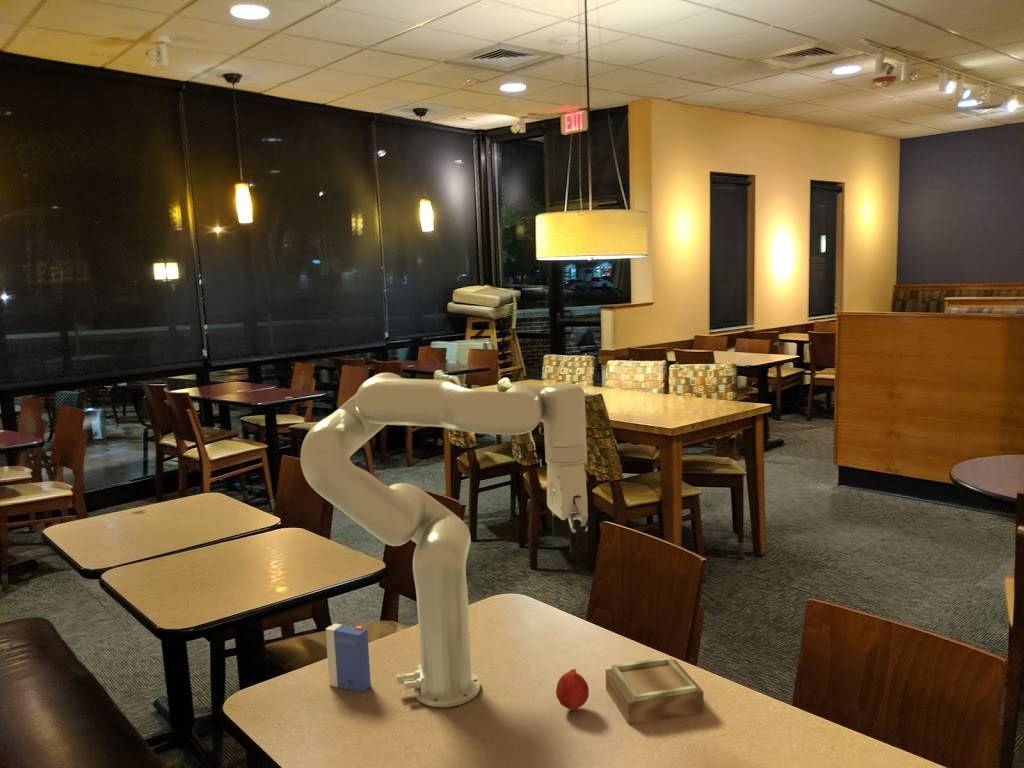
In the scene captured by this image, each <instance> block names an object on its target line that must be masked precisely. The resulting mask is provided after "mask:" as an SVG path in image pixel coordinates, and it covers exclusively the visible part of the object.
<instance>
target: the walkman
mask: <svg viewBox="0 0 1024 768" xmlns="http://www.w3.org/2000/svg"><path fill="white" fill-rule="evenodd" d="M368 634H369V633H368V629H367V628H364V627H363V626H359V625H357V626H352V625H348V624H347V625H346V624H340V623H333V624H332V625H329V626H328V627H326V628H325V636H326V639H325V640H326V656H327V657H326V658H327V669H328V683H329V686H330V685H331V686H330V687H335V688H340V689H345V690H350V691H355V692H359V693H364V692H366V690H368V688H370V687H371V686H372V683H371V669H370V666H371V665H370V652H369V635H368Z"/></svg>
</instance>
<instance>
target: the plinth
mask: <svg viewBox="0 0 1024 768" xmlns="http://www.w3.org/2000/svg"><path fill="white" fill-rule="evenodd" d="M605 690H606V692H607V694H608V695H609V697H610V698H611V700H612V701H613V703H614V704H615V706H616V707H617V709H618V710H619V712H620V713H621V715H622V716H623V718H624V720H625V721H626V722H627V724H628V725H629V726H630V725H636V724H641V723H648V722H653V721H654V722H655V721H659V720H666V719H672V718H678V717H683V716H689V715H696V714H697V715H698V714H702V713H703V714H704V690H703V689H702V688H701V687H700V685H698V684H697V683H696V681H695V680H694V679H693V678H692V677H691V676H690V674H689V672H687V671H686V669H684V667H683V666H682V665H681V664H680V663H679V662H678V661H677V660H676V659H672V657H670V656H667V657H660V658H659V657H658V658H652V659H646V660H640V661H639V660H638V661H634V662H633V661H632V662H626V663H625V662H624V663H618V664H612V665H611V668H609V669H605Z"/></svg>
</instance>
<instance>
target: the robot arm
mask: <svg viewBox="0 0 1024 768" xmlns="http://www.w3.org/2000/svg"><path fill="white" fill-rule="evenodd" d="M585 396H586V395H585V390H584V389H583V387H581V385H578V384H575V383H559V384H552V385H540V384H530V383H519V384H514V385H512V386H510V387H509V388H508V389H507V390H506V391H491V390H490V391H489V390H488V391H487V390H476V389H471V388H466V387H463V386H460V385H458V384H456V383H454V382H452V381H450V380H445V379H431V378H430V379H426V378H423V379H422V378H404V377H403V378H402V377H401V376H400V375H398V374H396V373H393V372H380V373H378V374H375V375H373V376H372V377H370V378H368V379H367V380H365V381H364V382H362V384H361V385H360V386H359V387H358V389H357V392H356V393H354V395H352V396H351V397H350V398H349V399H348V400H346V402H344V403H343V404H342V405H341V406H340V407H339V408H337V409H336V410H335V411H334V412H333V413H331V414H329V415H328V416H326V417H324V418H323V419H321V420H320V421H318V422H317V423H316V424H314V425H313V426H311V428H310V429H309V430H308V432H307V433H306V435H305V437H304V439H303V441H302V445H301V448H300V468H301V471H302V473H303V476H304V478H305V480H306V482H307V483H308V485H309V486H310V487H311V488H312V489H313V491H315V492H316V493H317V494H318V495H320V496H321V498H324V499H325V500H326V501H327V502H329V503H330V504H331V505H333V506H334V507H336V508H337V509H339V510H340V511H341V512H343V514H345V516H348V517H349V518H350V519H351V520H352V521H354V522H355V523H357V524H358V525H359V526H360V527H362V528H363V529H364V530H366V531H367V532H368V533H370V534H371V535H373V536H374V537H375V538H377V540H378V541H380V542H382V543H383V544H385V545H388V546H392V547H399V546H402V545H404V544H406V543H408V542H409V541H410V540H411V541H412V542H414V543H415V544H416V546H415V548H414V552H413V557H412V573H413V580H414V585H415V586H414V587H415V594H416V608H417V609H416V611H417V618H418V619H417V620H418V623H417V624H418V639H419V641H418V642H419V657H420V661H419V662H420V663H418V664H417V669H416V670H415V669H414V670H413V671H412V672H408V673H397V674H396V685H397V686H402V685H403V686H404V687H403V688H404V690H411V689H413V695H414V697H415V698H416V700H417V701H418V702H420V703H422V704H423V705H425V706H429V707H434V708H451V707H456V706H461V705H464V704H466V703H468V702H470V701H471V700H473V699H475V698H476V697H477V695H478V694H479V693H480V690H481V681H480V678H479V677H478V676H477V675H476V674H475V673H473V672H472V658H471V657H472V656H471V655H472V654H471V637H470V631H471V630H470V615H469V613H470V612H469V596H468V594H469V593H468V585H467V573H466V572H467V571H466V568H467V558H468V554H469V550H470V546H471V541H472V540H471V533H470V530H469V528H468V526H467V524H466V523H465V522H464V521H463V520H462V519H461V517H460V516H458V515H456V514H455V513H454V512H453V511H452V510H450V509H449V508H447V507H446V506H445V505H443V504H442V503H441V502H439V501H438V500H437V499H435V498H434V497H433V496H431V495H430V494H428V493H427V492H426V491H425V490H423V489H421V488H420V487H418V486H416V485H414V484H410V483H408V482H407V483H406V482H397V483H393V484H391V485H390V486H388V485H386V484H385V483H383V482H382V481H381V480H379V479H377V477H376V476H374V475H373V474H371V473H370V472H368V471H367V470H365V469H363V468H360V467H359V466H356V465H355V464H354V463H353V462H352V461H351V456H352V455H354V454H355V453H356V452H357V451H358V450H359V449H360V448H361V447H362V446H363V445H364V444H366V443H367V442H368V441H369V440H371V438H373V437H374V436H375V435H376V434H377V433H378V432H380V431H381V430H382V429H383V428H384V427H385V426H387V425H388V426H392V425H393V426H413V427H436V428H445V429H449V430H452V431H453V430H454V431H455V430H456V431H461V432H467V433H475V434H483V435H505V436H506V435H507V436H519V435H523V434H524V435H525V434H529V433H530V432H532V431H533V430H534V429H536V428H537V426H538V425H539V424H540V422H541V423H543V434H544V454H545V455H544V456H545V463H546V464H547V466H546V506H547V508H548V509H549V510H550V511H551V514H552V515H551V517H552V518H551V519H552V522H551V524H552V535H553V537H554V538H558V537H567V536H569V552H570V554H571V555H577V554H583V553H587V552H588V551H589V540H588V531H589V529H588V528H589V527H588V524H589V523H588V522H589V521H588V517H589V514H588V490H587V481H586V480H587V479H586V478H587V477H586V470H585V463H586V462H587V461H588V449H587V447H588V446H587V444H588V443H587V423H586V397H585ZM575 520H576V521H575Z"/></svg>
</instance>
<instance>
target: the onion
mask: <svg viewBox="0 0 1024 768" xmlns="http://www.w3.org/2000/svg"><path fill="white" fill-rule="evenodd" d="M556 684H557V685H556V689H555V695H556V698H557V700H558V702H559V703H560V705H562V707H564V708H566V709H568V710H570V711H572V712H575V711H577V710H578V709H580V708H581V707H582V706H584V705H585V703H586V702H587V701H588V699H589V695H590V694H589V693H590V689H589V684H588V682H587V681H586V679H585V678H584V677H583V676H582V675H581V674H579V673H578V672H577V670H576V668H574V667H572V668H570V669H569V671H567V672H565V673H564V674H563V675H562V676H561V677H560V678H559V679H558V682H557V683H556Z"/></svg>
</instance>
